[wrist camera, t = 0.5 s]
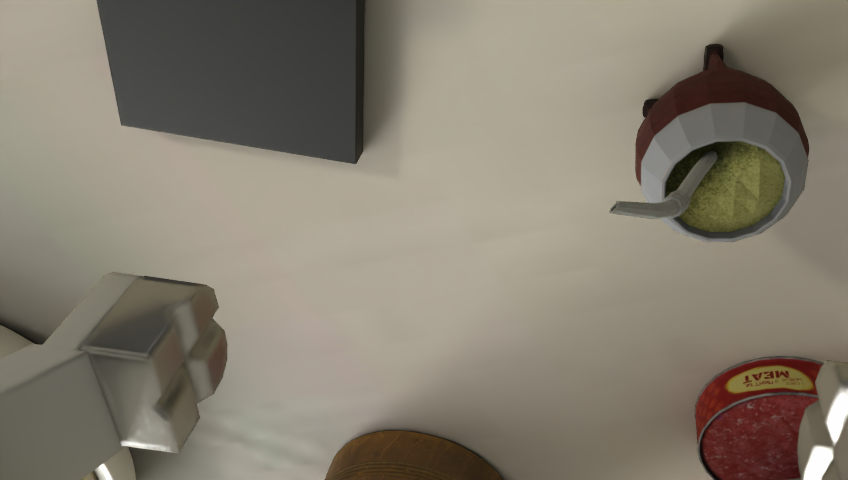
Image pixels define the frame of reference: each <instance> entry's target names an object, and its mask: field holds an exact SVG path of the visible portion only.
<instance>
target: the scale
mask: <svg viewBox="0 0 848 480" xmlns="http://www.w3.org/2000/svg"><path fill="white" fill-rule="evenodd" d="M97 4H98V10H99V15H100V20H101V25H102V30H103V35H104V40H105V45H106V50H107V55H108V60H109V65H110V70H111V76H112V81H113V86H114V91H115V96H116V101H117V106H118V111H119V116H120V121H121V125H122V126H129V127H135V128H141V129H147V130H153V131H159V132H165V133H171V134H177V135H183V136H189V137H195V138H201V139H207V140H213V141H219V142H225V143H231V144H237V145H243V146H250V147H256V148H262V149H268V150H274V151H280V152H286V153H292V154H298V155H304V156H310V157H316V158H322V159H328V160H334V161H340V162H346V163H352V164H356V163H357V161H358V160H359V158H360V156H361V154H362V152H363V95H364V11H365V0H97Z"/></svg>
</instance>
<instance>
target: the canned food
mask: <svg viewBox="0 0 848 480" xmlns="http://www.w3.org/2000/svg"><path fill="white" fill-rule="evenodd" d="M822 366H823V364H822V363H819V362H816V361H813V360H808V359H802V358H796V357H769V358H759V359H755V360H751V361H747V362H743V363H741V364H738V365H736V366H733V367H731V368H728V369H727V370H725V371H723V372H722V373H720V374H718V375H717V376H716V377H714V378H713V379H712V380H711V381H710V382H709V383H708V384H707V385H706V386H705V388H704V389H703V390H702V392H701V393H700V395H699V397H698V400H697V403H696V405H695V419H696V429H697V442H698V455H699V459H700V462H701V464H702V465H703V467H704V469H705V471H706V472H707V473H708V474H709V475H710V476H711V477H712V478H713V479H714V480H801V476H800V471H799V466H798V452H797V445H798V436H799V427H800V424H801V421H802V418H803V415H804V411H805V408H806V407H808V406H809V405H811V404H813V403H814V402H816V401H818V400H819V397H818V393H817V389H816V385H815V381H816V379H817V376H818V373H819V371H820V368H821V367H822Z"/></svg>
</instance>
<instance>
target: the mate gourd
mask: <svg viewBox="0 0 848 480" xmlns="http://www.w3.org/2000/svg"><path fill="white" fill-rule="evenodd" d="M723 58H724V52H723V46H722V45H720V44H710V45H708V46H706V48H705V55H704V68H703V71H702V72H700V73H698V74H696V75H694V76H692V77H689V78H687V79H685V80H683V81H681V82H679V83H677V84H676V85H675V86H674V87H672V88H671V89H670V90H669V91H668V92H667V93H666V94H665V95H663V96H662V97H661V98H660V99H651V100H646V101H645V103H644V106H643V116H644V117H646V118H645V120H644V121H643V123H642V124H641V126H640V128H639V130H638V134H637V139H636V167H635V171H636V177H637V180H638V182H639V184H640V186H641V190H642V192H643V194H644V196H645V198H646V200H647V203H639V202H621V201H617V202H616V203H615V204H614V205H613V206H612V207H611V209H610V212H609V213H613V214H619V215H626V216H633V217H641V218H648V219H661V220H662V221H663V222H664V223H665V224H667V225H668V226H669V227H670V228H672V229H673V230H674V231H676V232H678V233H681V234H683V235H686V236H689V237H692V238H695V239H698V240H701V241H704V242H734V241H738V240H741V239H744V238H748V237H751V236H754V235H758V234H760V233H762V232H763V231H765V230H766V229H768V228H769V227H771V226H772V225H773V224H775V223H776V222H778V221H779V220H781V219H782V218H784V217H785V216H786V214H787V213H788V212H789V210H790V209H791V208H792V206H793V205H794V203H795V202H796V200H797V199H798V197H799V196H800V194H801V193H802V191H803V190H804V187H805V180H806V174H807V167H808V161H809V160H808V154H809V144H808V139H807V136H806V133H805V131H804V128H803V125H802V123H801V120H800V117H799V115H798V112H797V111H796V109H795V108H794V106H793V105H792V104H791V103H790V102H789V101H788V100H787V99H786V98H785V97H784V96H783V95H782V94H781V93H779V92H778V91H777V90H776V89H775V88H774V87H773V86H772V85H771V84H769V83H768V82H766V81H764V80H762V79H759V78H757V77H754V76H752V75H749V74H746V73H744V72H741V71H738V70H734V69H731V68H727V67H726V65H725V64H724V62H723Z"/></svg>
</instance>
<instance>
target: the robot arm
mask: <svg viewBox="0 0 848 480" xmlns="http://www.w3.org/2000/svg"><path fill="white" fill-rule="evenodd" d="M218 308H219V306H218V302H217V299H216V295H215V292H214V289H213V288H211V287H209V286H207V285H204V284H197V283H190V282H183V281H176V280H169V279H163V278H156V277H149V276H144V277H143V276H137V275H130V274H124V273H117V272H113V273H110V274H107V275H105V276H103V277H102V278H101V279H100V280H99V282H98V283H97V284H96V285H95V286H94V287H93V288H92V289H91V291H90V292H89V293H88V294H87V295H86V296H85V297H84V298H83V300H82V301H81V302H80V303H79V304H78V305H77V306H76V307H75V309H74V310H73V311H72V312H71V313H70V314H69V315H68V316H67V318H66V319H65V320H64V321H63V322H62V323H61V324H60V325H59V327H58V328H57V329H56V330H55V331H54V332H53V333H52V334H51V336H50V337H49V338H48V339H47V340H46V341H45V342H44V343H43V345H38V344H31V345H29V346H27V347H24V348H22V349H20V350H18V351H16V352H14V353H12V354H10V355H7V356H5V357H3V358H1V359H0V480H81V479H83V478H84V477H85V476H87V475H88V474H90V473H91V472H92V471H94V470H95V469H96V468H98V467H99V466H100V465H102V464H103V463H105V462H106V461H107V460H109V459H110V458H111V457H113V456H114V455H115V454H117V453H118V452H120V451H121V450H122V449H123V447H122V446H128V447H135V448H142V449H150V450H157V451H164V452H172V453H179V452H180V450H181V449H182V447H183V445H184V444H185V442H186V440H187V439H188V437H189V435H190V434H191V432H192V430H193V428H194V427H195V425H196V423H197V422H198V420H199V418H200V415H199V411H198V407H197V404H198V403H199V402H201V401H203V400H204V399H206V398H208V397H209V396H211V395H213V394H214V392H215V391H216V389H217V387H218V385H219V383H220V382H221V380H222V377H223V373H224V370H225V366H226V362H227V341H226V336H225V331H224V330H223V329H222V328H221V327H220V326H219V325H218V324H217V323H216V322H215V321H214V319H213V318H212V317H213V316H214V314H215V312H216V311H217V309H218ZM815 385H816V389H817V393H818V397H819V400H818V401H816V402H814V403H813V404H811V405H809V406H808V407H806V408H805V411H804V415H803V418H802V421H801V424H800V427H799V436H798V445H797V452H798V466H799V471H800V476H801V480H848V362H840V361H831V360H827V361H826V362H825V363H824V364H823V366H822V367H821V368H820V371H819V373H818V376H817V379H816V381H815Z"/></svg>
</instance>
